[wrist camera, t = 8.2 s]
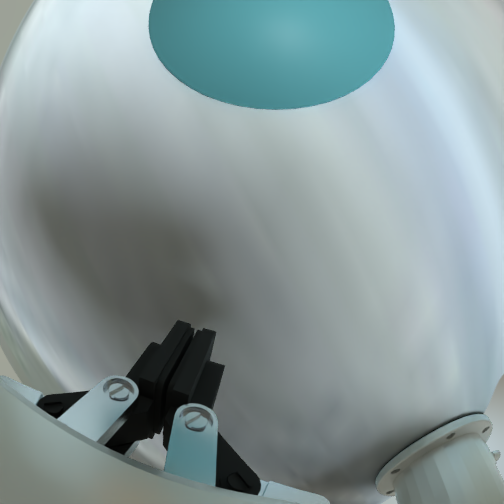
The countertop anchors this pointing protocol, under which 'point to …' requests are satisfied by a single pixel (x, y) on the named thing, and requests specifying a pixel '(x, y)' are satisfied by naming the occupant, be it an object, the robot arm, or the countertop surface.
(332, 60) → the disc
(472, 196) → the countertop surface
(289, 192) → the countertop surface
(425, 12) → the countertop surface
